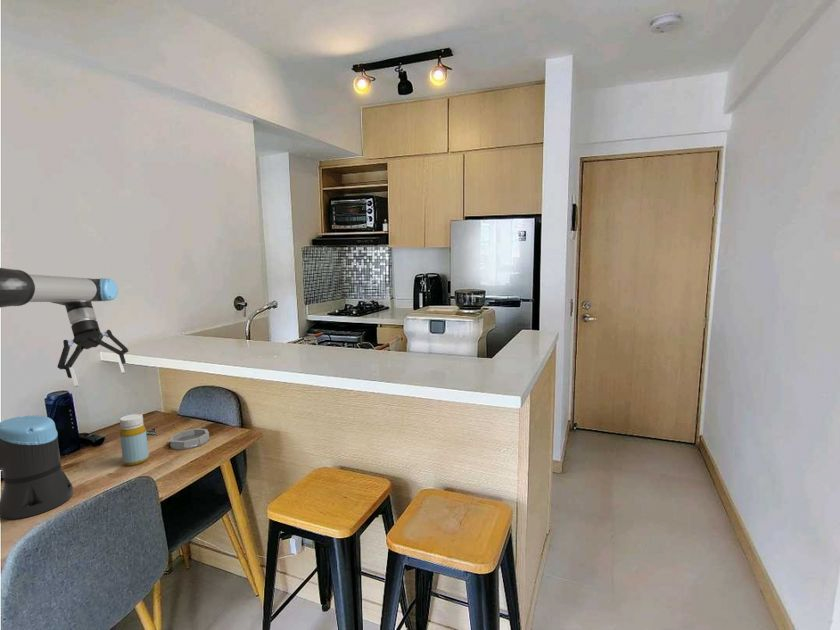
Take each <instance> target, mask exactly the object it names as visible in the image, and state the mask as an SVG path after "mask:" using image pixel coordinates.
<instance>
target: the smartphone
mask: <svg viewBox="0 0 840 630" xmlns="http://www.w3.org/2000/svg"><path fill="white" fill-rule="evenodd" d="M157 427H158V426H156V427H154V428H152V429H150V430H146V435H147V436H154V435H156V432H155V428H157ZM156 436H157V435H156Z"/></svg>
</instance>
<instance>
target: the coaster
mask: <svg viewBox="0 0 840 630" xmlns="http://www.w3.org/2000/svg"><path fill="white" fill-rule="evenodd" d="M209 441H210V432H209V430H208V429H207V428H195V427H194V428H191V429H185V430H182V431H181V430H180V431H179V432H177V433H175V434H173V435H171V436H169V442H170V444H169V446H170V447H169V448H170V449H172V450H174V451H175V450H176V451H183V450H185V449H186V450H190V449H195V448H198V447H201V446H203V445H205V444H207V443H209ZM206 442H207V443H206ZM186 450H185V451H186Z"/></svg>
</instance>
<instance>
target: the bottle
mask: <svg viewBox="0 0 840 630" xmlns="http://www.w3.org/2000/svg"><path fill="white" fill-rule="evenodd" d="M119 424H120V432H119V439H120V445H121V447H120V448H121V454H122V461H123V464H124V465H126V466H129V467H132V466H137V465H142V464H143V463H146V462H147V461H148V460H149V457H150V454H149V445H148V437H147V436H148V435H146V432H147V429H146V427H145V425H144V415H143V414H142V413H132V414H128V415H124V416H122V417H120V418H119Z"/></svg>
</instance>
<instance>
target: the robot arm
mask: <svg viewBox="0 0 840 630" xmlns="http://www.w3.org/2000/svg"><path fill="white" fill-rule="evenodd" d="M118 292H119V291H118V285H117V283H116V282H115V280H113V279H111V278H103V277H102V278H88V277H87V278H85V277H74V276H73V277H71V276H61V275H60V276H59V275H57V276H56V275H45V274H44V275H43V274H42V275H41V274H31V273H30V274H29V273H28V272H26V271H24V270H21V269H12V268H4V267H0V308H7V307H21V306H24V305H27V304H29V303H42V302H43V303H51V304H57V305H61V306H65V310H66V313H67V317H68V320H69V323H70V325H71V326H70V328H71V331H72V334H73V339H68V340H67V339H64V340H63V343H62V344H63V348H62V351H61V354H60V356H59V357H60V358H59V359H58V360H59V361H58V363H57V368H58V370H65V372H66V376H67V378H69V379H72V382H73V385H74V387H75V388H78V387H80V385H79V381H78V378H77V375H76V371H75V368H74V367H73V366H74V364H75V362H76V360H77V359H78V357H79V356H80V354H82V352H83V351H84V350H89V349H92V348H97V347H98V346H101V347H104V349H106V350H109V351H111V352H113V353H114V354H116V358H117V362H118V366H119V368H120V369H119V370H120V373H121V374H122V375H123V374H124V375H125V374H126V372H125V368H124V364H126V362H127V361H126V358H125V354H126V353H128V352H129V348H127V347H126V346H125V344H123V343H122V342H121V341H120V340H119V339H118V338H117V337H115V335H114V334H113V332H112V331H111V330H110V329H106V331H104V332H101V330H100V327H99V323H98V322H99V321H97V315H96V312H95V309H94V306H93V303H92V302H107V301H113V300H115V299H116V298H117V296H118ZM104 337H106V338H109V339H111V341H112V342H113V343H114V344H116V346H118V348H120V349H121V350H120V349H118V348H117V347H114V346H113V345H111V344H108V343H107V342H105V341H103V338H104ZM73 344H76V345H77V346H76V347H75V349H74V351H73V353H72V354H71V356H70V357H69V358H68V356H69V353H70V349H71V347H72V346H73ZM67 359H68V360H67ZM58 434H59V433H58V430H57V428H56V423H55V421H54V420H53V419H52V418H51V417H48V416H45V415H24V416H16V417H12V418H8V419H4V420H2V421H1V422H0V471H1V473H2V478H3V488H2V492H1V497H0V518H1V519H6V520H17V519H24V518H28V517H33V516H37V515H40V514H42V513H43V514H44V513H46V512H48V511H51V510H53V509H56V508H57V507H59V506H61V505H63V504H65V503H67V502H68V501H69V500H70V499H72V497H73V495H74V488H73V484H72V483H71V481H70V479H69V478H68V476H67V475H66V473H65V472H64V470H63V468H62V461H61V454H60V453H61V452H60V448H59V447H60V445H59V438H58V436H59V435H58Z"/></svg>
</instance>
